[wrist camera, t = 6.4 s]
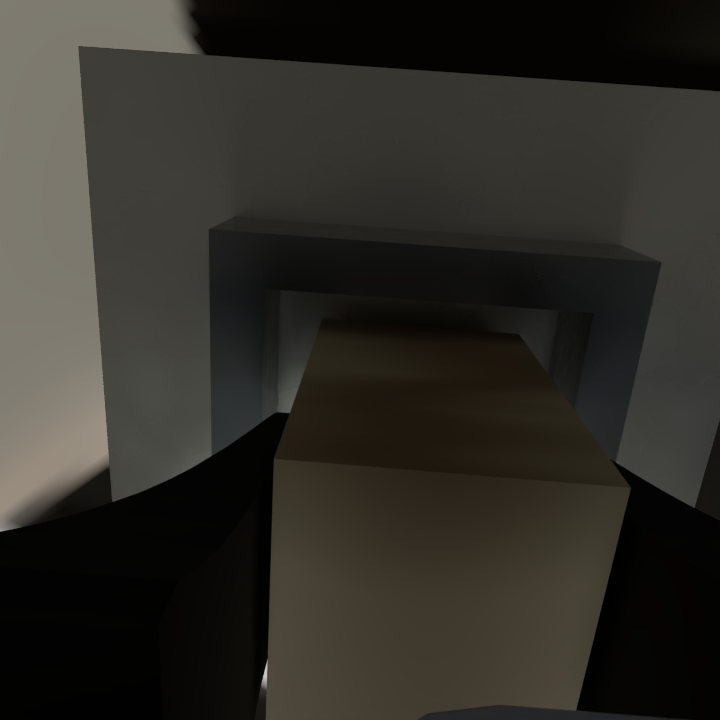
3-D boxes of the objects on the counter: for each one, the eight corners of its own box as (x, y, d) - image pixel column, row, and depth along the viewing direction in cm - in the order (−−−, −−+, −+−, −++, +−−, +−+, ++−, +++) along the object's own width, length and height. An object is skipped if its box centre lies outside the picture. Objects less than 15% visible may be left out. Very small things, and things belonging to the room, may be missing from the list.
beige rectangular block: (518, 333, 13) (631, 488, 7) (490, 504, 14) (565, 752, 8) (322, 318, 13) (273, 458, 7) (313, 489, 14) (265, 726, 8)
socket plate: (791, 100, 12) (893, 88, 10) (639, 652, 17) (682, 739, 14) (92, 50, 12) (20, 26, 10) (130, 612, 17) (88, 691, 15)
